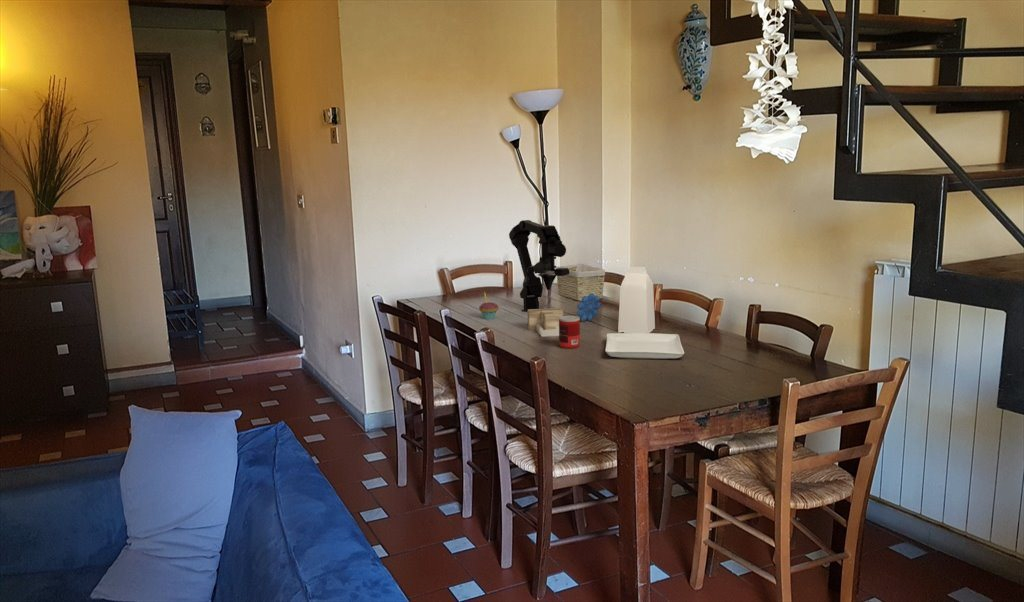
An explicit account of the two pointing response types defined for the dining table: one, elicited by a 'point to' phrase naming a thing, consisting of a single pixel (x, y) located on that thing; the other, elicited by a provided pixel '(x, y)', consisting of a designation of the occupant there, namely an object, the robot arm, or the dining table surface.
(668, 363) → the dining table surface
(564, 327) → the canned food
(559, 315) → the t block
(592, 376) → the dining table surface
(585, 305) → the grapes
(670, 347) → the square plate
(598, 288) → the storage basket
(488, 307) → the cupcake
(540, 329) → the slot guide
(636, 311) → the milk
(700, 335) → the dining table surface
